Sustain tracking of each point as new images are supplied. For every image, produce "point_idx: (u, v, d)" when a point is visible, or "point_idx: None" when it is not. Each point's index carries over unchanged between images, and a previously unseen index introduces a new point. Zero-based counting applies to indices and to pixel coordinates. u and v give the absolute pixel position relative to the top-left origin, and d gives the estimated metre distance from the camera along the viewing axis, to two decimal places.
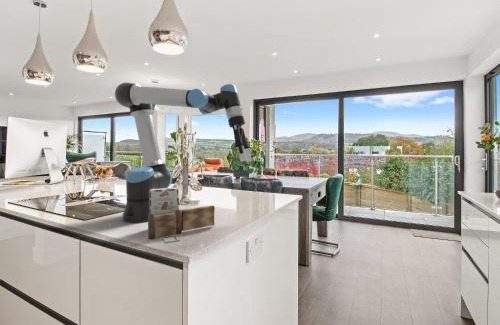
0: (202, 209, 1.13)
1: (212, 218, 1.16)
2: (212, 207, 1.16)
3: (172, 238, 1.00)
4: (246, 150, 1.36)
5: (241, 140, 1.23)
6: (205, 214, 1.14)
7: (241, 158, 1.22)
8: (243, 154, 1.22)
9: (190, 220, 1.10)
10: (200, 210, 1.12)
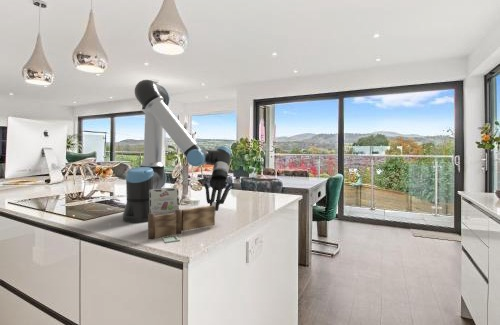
0: (202, 209, 1.13)
1: (212, 218, 1.16)
2: (212, 207, 1.16)
3: (172, 238, 1.00)
4: (214, 205, 1.23)
5: None
6: (205, 214, 1.14)
7: None
8: (215, 211, 1.21)
9: (191, 220, 1.10)
10: (200, 210, 1.12)
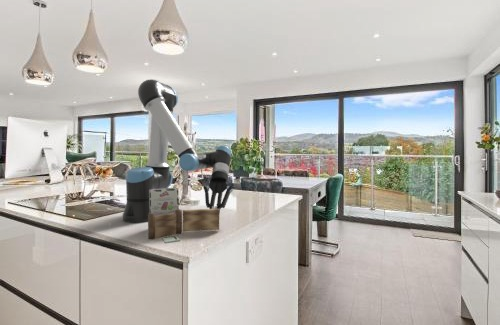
0: (204, 211, 1.09)
1: (217, 222, 1.10)
2: (216, 210, 1.10)
3: (172, 238, 1.00)
4: None
5: None
6: (208, 217, 1.09)
7: None
8: None
9: (191, 221, 1.08)
10: (202, 212, 1.08)
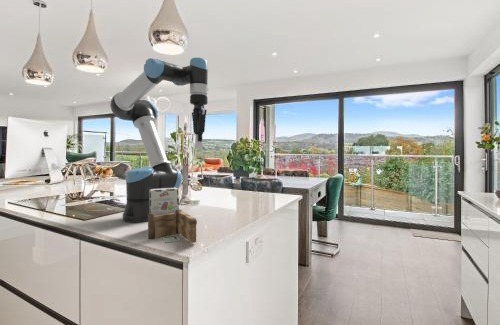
0: (185, 218, 0.99)
1: (190, 233, 0.95)
2: (190, 220, 0.95)
3: (172, 238, 1.00)
4: None
5: None
6: (187, 225, 0.98)
7: (197, 146, 1.23)
8: (200, 142, 1.23)
9: (180, 224, 1.03)
10: (184, 218, 0.99)
